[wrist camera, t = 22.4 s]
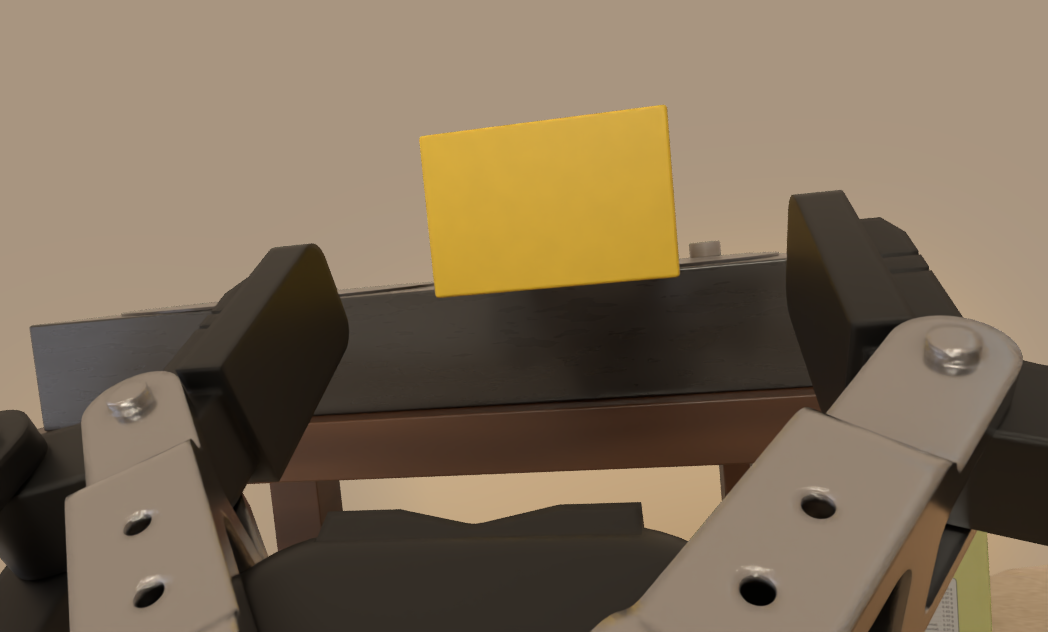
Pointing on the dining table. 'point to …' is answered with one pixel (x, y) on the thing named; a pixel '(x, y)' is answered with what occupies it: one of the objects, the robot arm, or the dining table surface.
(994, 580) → the dining table surface
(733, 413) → the hob stand
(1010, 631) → the dining table surface
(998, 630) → the dining table surface
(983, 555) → the protein box
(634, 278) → the yellow rectangular bar
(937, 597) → the robot arm
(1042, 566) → the dining table surface
